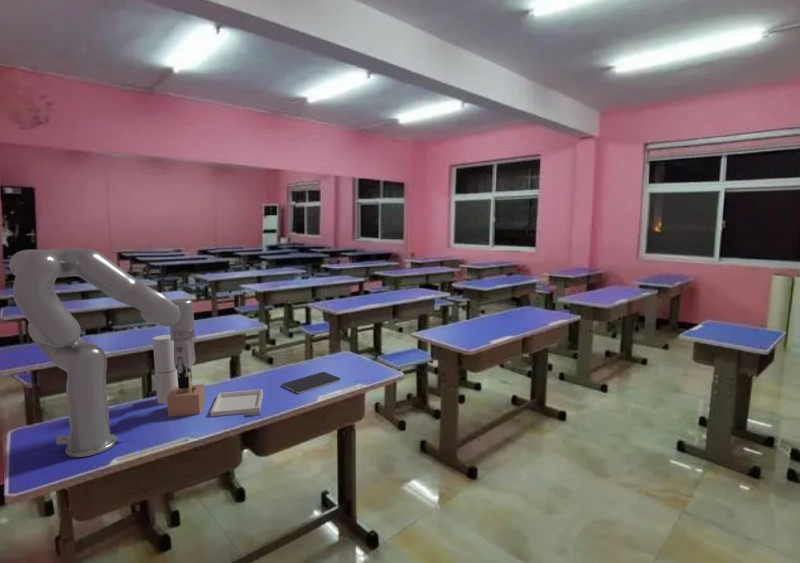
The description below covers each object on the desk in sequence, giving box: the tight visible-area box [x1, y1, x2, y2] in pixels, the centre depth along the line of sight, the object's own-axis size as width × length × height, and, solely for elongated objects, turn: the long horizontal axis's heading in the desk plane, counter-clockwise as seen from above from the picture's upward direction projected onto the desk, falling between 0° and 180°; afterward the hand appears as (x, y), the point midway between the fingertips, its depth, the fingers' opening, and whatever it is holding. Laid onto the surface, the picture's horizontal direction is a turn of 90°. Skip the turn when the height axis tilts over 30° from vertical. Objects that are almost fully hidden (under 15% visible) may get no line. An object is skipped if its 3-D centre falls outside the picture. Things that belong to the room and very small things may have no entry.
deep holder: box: [166, 384, 206, 418], centre depth 154 cm, size 10×10×8 cm
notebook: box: [281, 371, 341, 394], centre depth 184 cm, size 13×2×21 cm
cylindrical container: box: [152, 334, 178, 405], centre depth 162 cm, size 7×7×25 cm
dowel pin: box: [179, 371, 193, 394], centre depth 154 cm, size 4×4×13 cm
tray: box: [210, 388, 264, 417], centre depth 160 cm, size 16×18×2 cm
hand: (185, 385), depth 154 cm, fingers closed on dowel pin, 4 cm apart
